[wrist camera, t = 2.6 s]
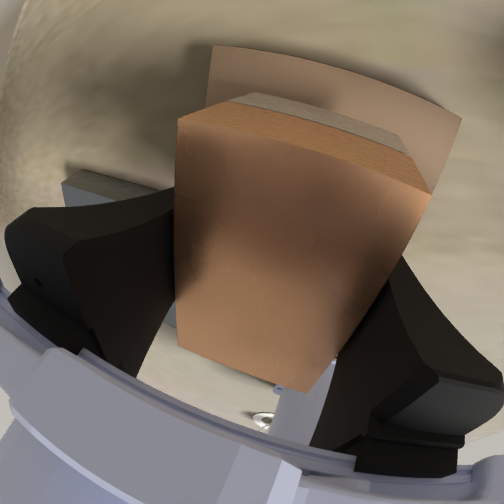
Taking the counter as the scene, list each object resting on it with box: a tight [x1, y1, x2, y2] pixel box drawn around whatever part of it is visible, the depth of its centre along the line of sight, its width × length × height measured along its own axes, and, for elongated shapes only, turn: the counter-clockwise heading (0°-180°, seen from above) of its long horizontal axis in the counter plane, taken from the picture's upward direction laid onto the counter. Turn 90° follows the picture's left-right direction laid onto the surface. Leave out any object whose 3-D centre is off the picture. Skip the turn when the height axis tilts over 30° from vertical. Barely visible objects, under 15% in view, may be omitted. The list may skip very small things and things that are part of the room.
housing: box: [174, 92, 432, 394], centre depth 9 cm, size 8×5×5 cm, turn 171°
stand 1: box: [61, 170, 177, 328], centre depth 22 cm, size 11×11×2 cm
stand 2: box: [205, 45, 462, 194], centre depth 14 cm, size 11×11×2 cm
